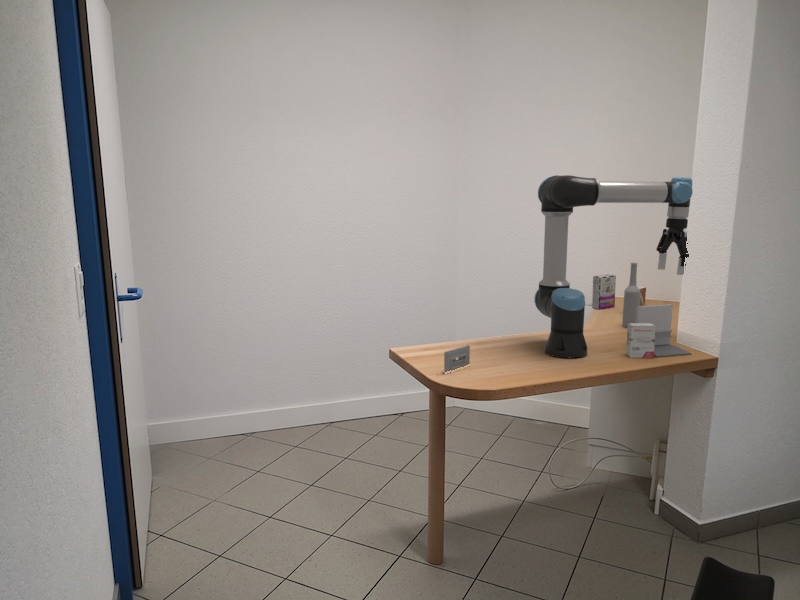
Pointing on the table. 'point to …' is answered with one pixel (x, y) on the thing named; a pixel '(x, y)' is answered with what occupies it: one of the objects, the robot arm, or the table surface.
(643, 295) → the small box
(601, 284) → the candy bar box
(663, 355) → the grey display stand
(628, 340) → the ink box
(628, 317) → the bottle
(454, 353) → the cassette
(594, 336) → the table surface
